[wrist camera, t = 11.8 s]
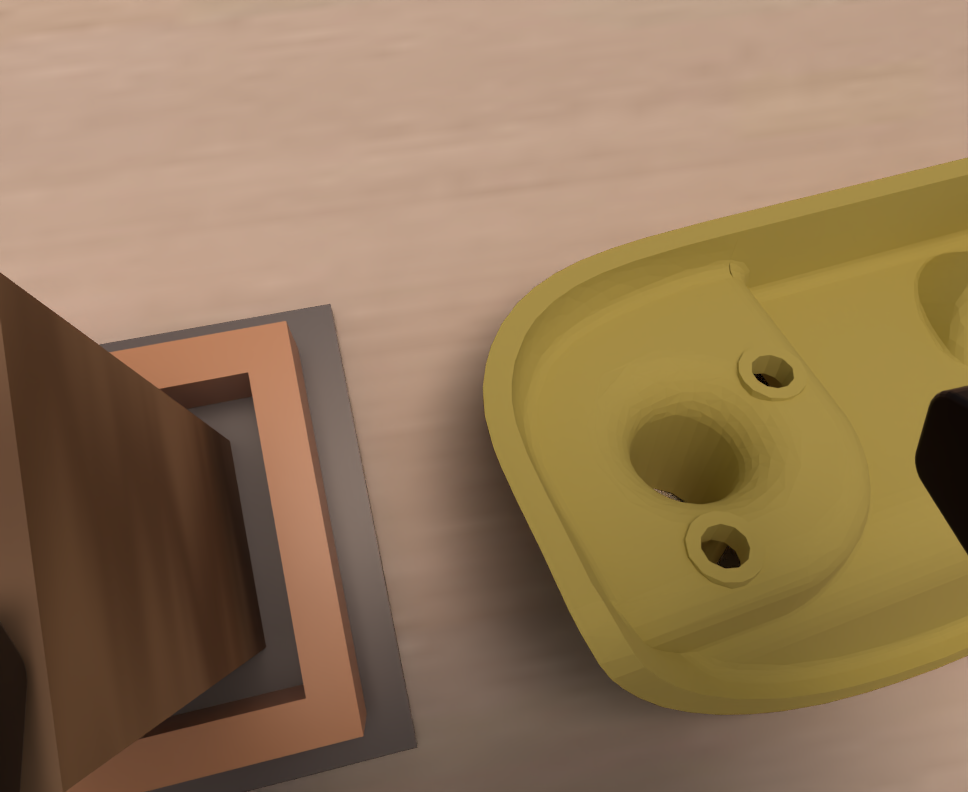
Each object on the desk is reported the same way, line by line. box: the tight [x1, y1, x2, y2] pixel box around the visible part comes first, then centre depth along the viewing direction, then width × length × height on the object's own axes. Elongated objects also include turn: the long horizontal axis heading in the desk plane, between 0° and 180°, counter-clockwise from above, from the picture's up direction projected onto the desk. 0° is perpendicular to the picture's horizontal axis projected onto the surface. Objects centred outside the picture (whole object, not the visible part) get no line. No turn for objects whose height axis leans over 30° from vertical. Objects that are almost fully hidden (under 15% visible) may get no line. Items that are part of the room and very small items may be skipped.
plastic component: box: [483, 158, 968, 715], centre depth 21 cm, size 20×7×10 cm
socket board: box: [65, 304, 417, 792], centre depth 19 cm, size 11×11×3 cm
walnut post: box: [0, 273, 266, 792], centre depth 14 cm, size 5×5×12 cm
